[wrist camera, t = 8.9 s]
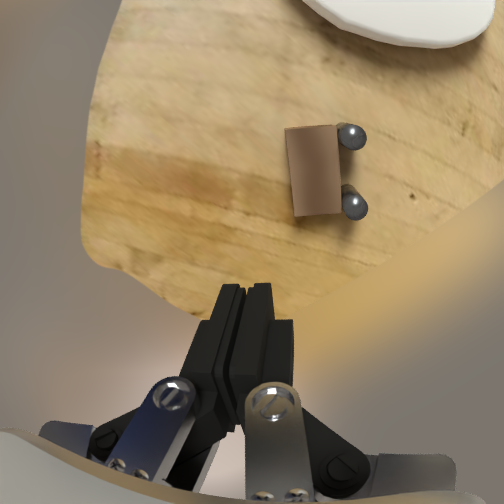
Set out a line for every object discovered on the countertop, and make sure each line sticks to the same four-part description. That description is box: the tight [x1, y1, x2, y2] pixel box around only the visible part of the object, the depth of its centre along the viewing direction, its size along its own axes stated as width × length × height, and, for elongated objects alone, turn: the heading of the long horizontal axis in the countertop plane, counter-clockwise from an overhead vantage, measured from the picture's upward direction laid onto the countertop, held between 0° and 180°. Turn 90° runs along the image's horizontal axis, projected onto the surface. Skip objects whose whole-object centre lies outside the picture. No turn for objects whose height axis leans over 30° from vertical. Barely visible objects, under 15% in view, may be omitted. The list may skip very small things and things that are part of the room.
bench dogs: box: [336, 123, 368, 220], centre depth 27 cm, size 2×9×5 cm, turn 8°
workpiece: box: [285, 125, 342, 217], centre depth 29 cm, size 5×9×4 cm, turn 8°
